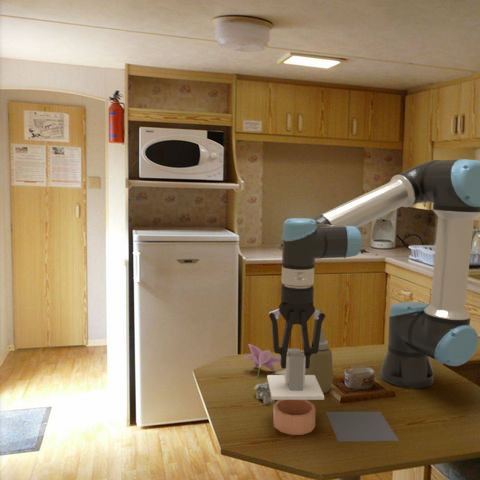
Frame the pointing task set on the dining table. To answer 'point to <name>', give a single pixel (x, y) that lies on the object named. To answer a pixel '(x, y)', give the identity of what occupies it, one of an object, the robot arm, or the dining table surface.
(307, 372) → the squeeze bottle
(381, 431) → the rubber mat
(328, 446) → the dining table surface
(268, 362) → the lily
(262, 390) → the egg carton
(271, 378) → the cover sheet
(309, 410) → the bowl
